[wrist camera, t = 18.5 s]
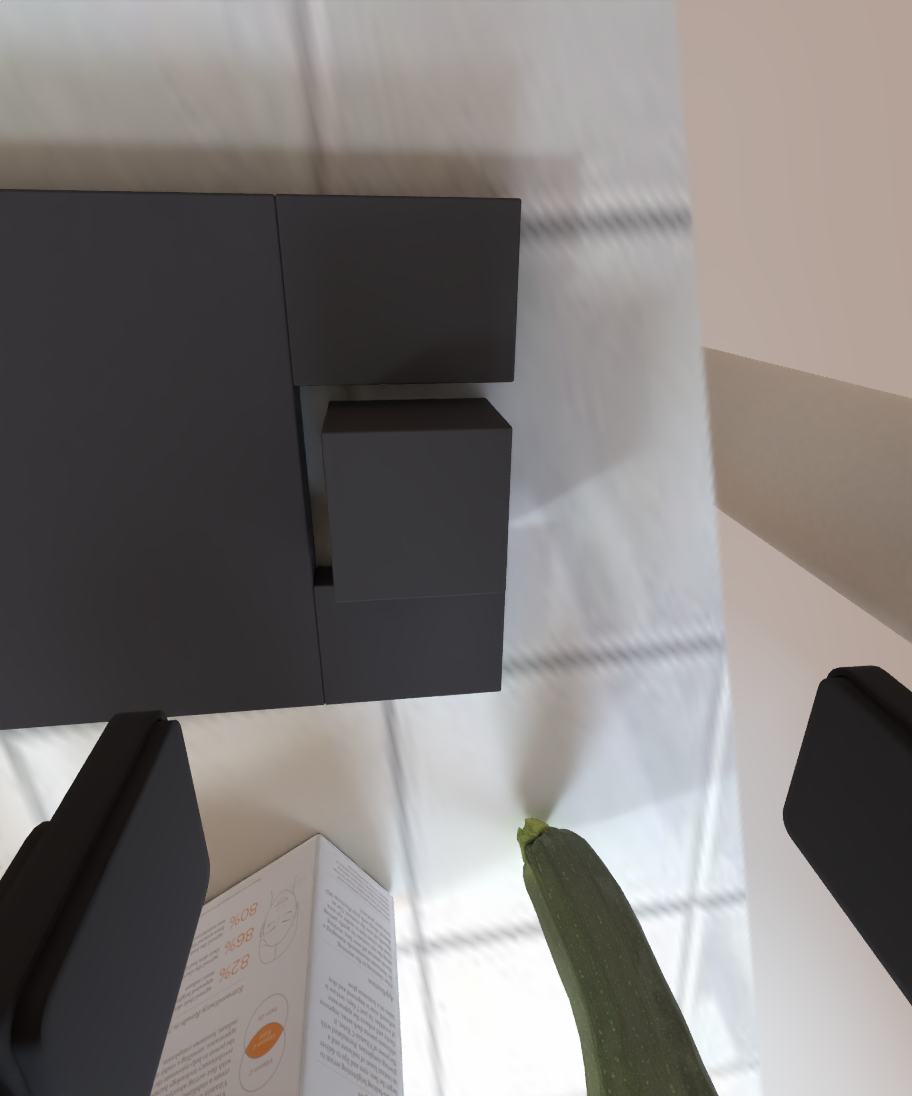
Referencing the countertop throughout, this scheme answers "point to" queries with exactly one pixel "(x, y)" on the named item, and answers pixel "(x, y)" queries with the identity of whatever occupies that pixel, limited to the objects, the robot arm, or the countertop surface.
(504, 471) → the pad piece
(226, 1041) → the small box
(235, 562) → the base pad
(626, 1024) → the vegetable
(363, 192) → the countertop surface
